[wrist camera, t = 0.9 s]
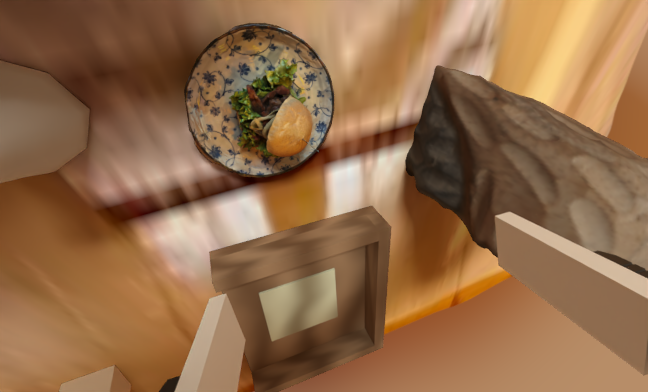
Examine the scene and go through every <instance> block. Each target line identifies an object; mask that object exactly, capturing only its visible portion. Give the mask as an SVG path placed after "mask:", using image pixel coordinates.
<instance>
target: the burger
mask: <svg viewBox="0 0 648 392" xmlns="http://www.w3.org/2000/svg"><path fill="white" fill-rule="evenodd" d="M184 93H185V102H186V108H187V115H188V124H189V130H190V132H191V133H192V135H193V138H194V140H195V142H194V144H195V145H196V147H197V148H198V150H199V151H200V152H201V153H202V154H203V155H204V156H205V157H206V158H207V159H208V160H209V161H210V162H211V163H216V164H219V165H221V166H223V167H225V168H226V169H227V170H228V171H230V172H232V173H233V172H236V173H238V174H239V175H241V176H245V177H269V176H274V175H279V174H282V173H285V172H289V171H291V170H293V169H295V168H297V167H299V166H300V165H301V164H303V163H304V162H305V161H306V160H307V159H309V158H310V157H311V156H312V155H313V154H314V153H316V151H318V150H317V149H318V148H319V147H320V146H321V144H322V143H323V142H324V141H325V139H326V135H327V133H328V131H329V129H330V127H331V124H332V119H333V113H334V91H333V86H332V81H331V78H330V75H329V72H328V70H327V68H326V66H325V65H324V63H323V62H322V60H321V59H320V57H319V56H318V54H317V53H316V52H315V50H314V49H313V48H311V47H310V46H309V45H308V44H307V43H306V42H305V41H304V40H302V39H300V38H299V37H297V36H295V35H294V34H292V32H290V31H287V30H285V29H283V28H281V27H279V26H274V25H271V24H266V23H248V24H244V25H239V26H235V27H234V28H232V29H231V30H229V31H228V32H227V33H225V34H224V35H222V36H221V37H219V38H217V39H215V40H213V41H212V42H211V43H210V44H209V45H208V46H207V47H206V48H205V49H204V51H203V52H202V53H201V54H200V56H199V57H198V58H197V60H196V63H195V65H194V67H193V69H192V71H191V74H190V76H189V79H188V81H187V83H186V86H185V91H184ZM318 152H319V151H318Z"/></svg>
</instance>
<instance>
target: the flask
mask: <svg viewBox="0 0 648 392" xmlns="http://www.w3.org/2000/svg"><path fill="white" fill-rule="evenodd" d="M89 116H90V109H89V108H88V107H86V106H85V105H84V104H83V103H82V102H81V101H79V100H78V99H77V98H76V97H75V96H74V95H72V94H71V93H70V92H69V91H68V90H67V89H66V88H64V87H63V86H62V85H61V84H60V83H59V82H57V81H56V80H55V79H54V78H53V77H52V76H50V75H49V74H48V73H46V72H42V71H38V70H35V69H31V68H27V67H23V66H20V65H16V64H12V63H8V62H5V61H1V60H0V183H3V182H7V181H12V180H16V179H20V178H24V177H29V176H35V175H40V174H46V173H51V172H55V171H57V170H58V169H59V168H61V167H62V166H63V165H65V164H66V163H67V162H69V161H70V160H71V159H73V158H74V157H75V156H77V155H78V154H79V153H81V152H82V151H83V150H85V149H86V148H87V141H88V129H89Z"/></svg>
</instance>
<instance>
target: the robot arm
mask: <svg viewBox="0 0 648 392" xmlns="http://www.w3.org/2000/svg"><path fill="white" fill-rule="evenodd" d="M495 226H496V239H497V252H498V264H499V266H500V267H502V268H503V269H504V270H506V271H507V272H508V273H510V274H511V275H512V276H514V277H515V278H516V279H518V280H519V281H520V282H522V283H523V284H525V286H527V287H528V288H529V289H531V290H532V291H533V292H535V293H536V294H537V295H539V296H540V297H541V298H543V299H544V300H545V301H547V302H548V303H549V304H550V305H552V306H553V307H554V308H556V309H557V310H558V311H560V312H561V313H562V314H564V315H565V316H566V317H568V318H569V319H570V320H572V321H573V322H574V323H576V324H577V325H578V326H579V327H581V328H582V329H583V330H585V331H586V332H587V333H589V334H590V335H591V336H593V337H594V338H595V339H597V340H598V341H599V342H601V343H602V344H603V345H605V346H606V347H607V348H608V349H610V350H611V351H612V352H614V353H615V354H616V355H618V356H619V357H620V358H622V359H623V360H624V361H626V362H627V363H628V364H630V365H631V366H632V367H634V368H635V369H636V370H637V371H639V372H640V373H641V374H643V375H646V374H648V271H646V270H645V268H643V267H640V266H638V265H636V264H634V265H633V264H632V262H630V261H627V260H625V259H623V258H621V257H619V256H617V255H613V254H609V253H605V252H602V251H598V250H597V251H594V252H592V251H590V250H588V249H586V248H584V247H582V246H580V245H577V244H575V243H573V242H571V241H569V240H567V239H565V238H563V237H561V236H559V235H557V234H555V233H553V232H551V231H549V230H547V229H544V228H542V227H540V226H538V225H536V224H534V223H532V222H530V221H528V220H526V219H524V218H522V217H520V216H518V215H516V214H514V213H512V212H507V213H503V214H500V215H496V216H495ZM244 346H245V338H244V335H243V333H242V330H241V328H240V326H239V323H238V321H237V318H236V316H235V314H234V311H233V309H232V306H231V304H230V301H229V299H228V297H227V294H223V295H219V296H216V297H212V298H210V299H209V302H208V304H207V307H206V310H205V312H204V315H203V318H202V320H201V323H200V326H199V328H198V331H197V334H196V336H195V339H194V342H193V344H192V347H191V350H190V352H189V355H188V358H187V360H186V363H185V366H184V368H183V371H182V373H181V376H178V377H175V378H172V379H168V380H167V382H166V383H165V384H164V386H163V387H162V388H161V389H160V391H159V392H237V390H238V383H239V377H240V371H241V365H242V359H243V352H244Z"/></svg>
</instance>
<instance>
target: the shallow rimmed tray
mask: <svg viewBox="0 0 648 392" xmlns="http://www.w3.org/2000/svg"><path fill="white" fill-rule="evenodd" d="M390 238H391V226H390V225H389V224H388V223H387V222H386V221H385V219H384V218H383V217H382V216H381V215H380V214H379V213H378V212H377V211H376V210H375V209H374V207H373V206H369V207H366V208H362V209H359V210H355V211H352V212H348V213H345V214H341V215H338V216H334V217H331V218H327V219H324V220H320V221H317V222H313V223H309V224H306V225H302V226H299V227H295V228H292V229H288V230H285V231H281V232H278V233H274V234H271V235H267V236H264V237H260V238H257V239H253V240H250V241H246V242H242V243H239V244H235V245H232V246H228V247H225V248H221V249H218V250H214V251H211V252H209V253H210V263H211V274H212V283H213V286H214V288H215V291H216V293H217V292H220V291H222V293H223V294H227V297H228V299H229V301H230V304H231V306H232V309H233V311H234V314H235V316H236V318H237V321H238V323H239V326H240V328H241V330H242V333H243V335H244V338H245V346H244V353H245V356H246V358H247V361H248V364H249V366H250V369H251V372H252V377H253V383H254V388H255V392H279V391H281V390H284V389H286V388H288V387H291V386H293V385H295V384H298V383H300V382H303V381H305V380H307V379H310V378H312V377H314V376H317V375H319V374H321V373H324V372H326V371H328V370H331V369H333V368H335V367H338V366H340V365H343V364H345V363H347V362H349V361H352V360H355V359H357V358H359V357H362V356H364V355H366V354H369V353H371V352H374V351H376V350H378V349H381V348H383V340H384V325H385V311H386V296H387V282H388V267H389V253H390Z"/></svg>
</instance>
